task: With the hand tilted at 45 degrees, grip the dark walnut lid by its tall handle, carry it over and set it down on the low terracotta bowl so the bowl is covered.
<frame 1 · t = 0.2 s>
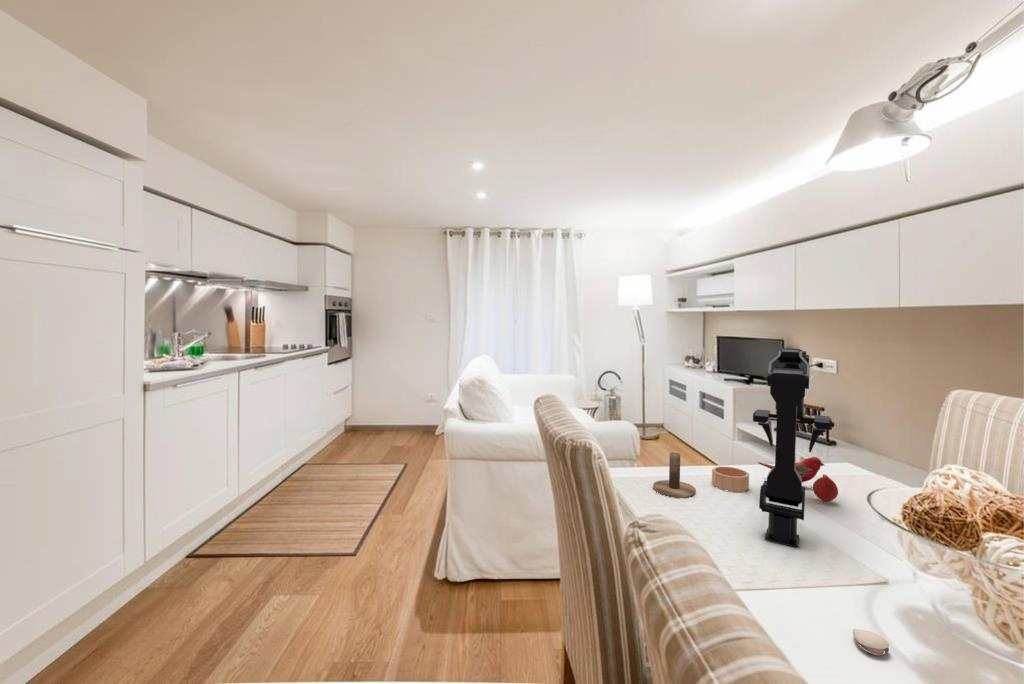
hand: (790, 449, 128), 15 cm above the table, tool pointing down, fingers open, 9 cm apart
decorative bird figurine: (789, 486, 139), on the table
beige oval flat piece: (867, 648, 70), on the table
onion: (824, 503, 127), on the table
lid: (674, 491, 135), on the table
bowl: (730, 486, 139), on the table
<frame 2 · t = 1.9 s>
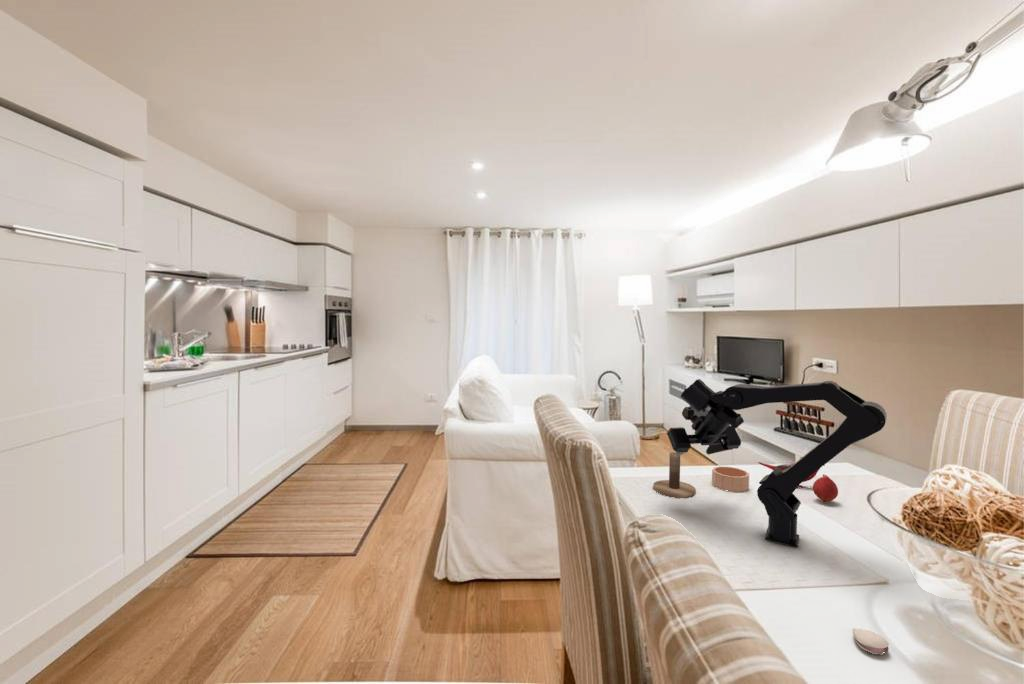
hand: (692, 453, 127), 13 cm above the table, tool tilted 45°, fingers open, 9 cm apart
nothing on the table moved.
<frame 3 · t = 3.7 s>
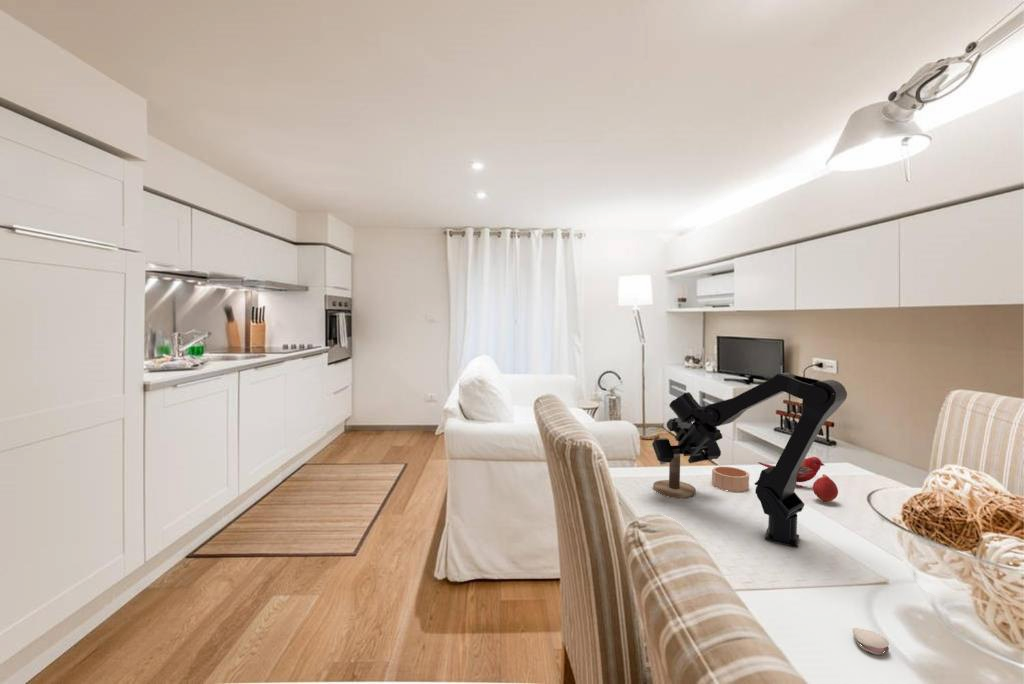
hand: (675, 462, 134), 9 cm above the table, tool tilted 45°, fingers open, 9 cm apart
nothing on the table moved.
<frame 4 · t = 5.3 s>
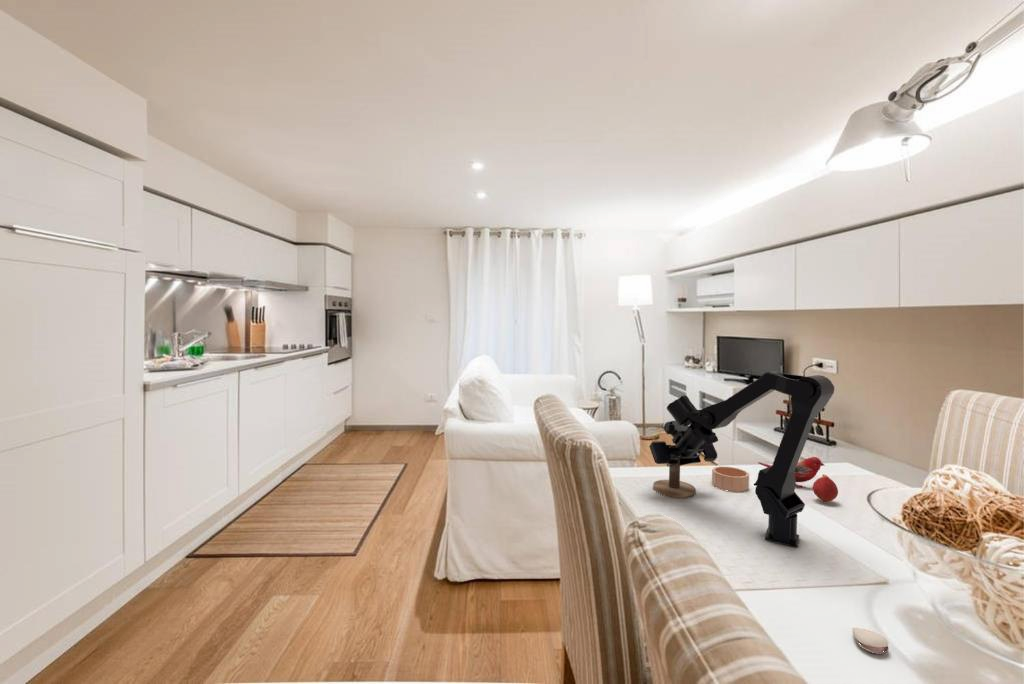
hand: (672, 464, 136), 7 cm above the table, tool tilted 45°, fingers closed on lid, 3 cm apart
lid: (674, 490, 135), on the table, touching gripper
everything else where it was.
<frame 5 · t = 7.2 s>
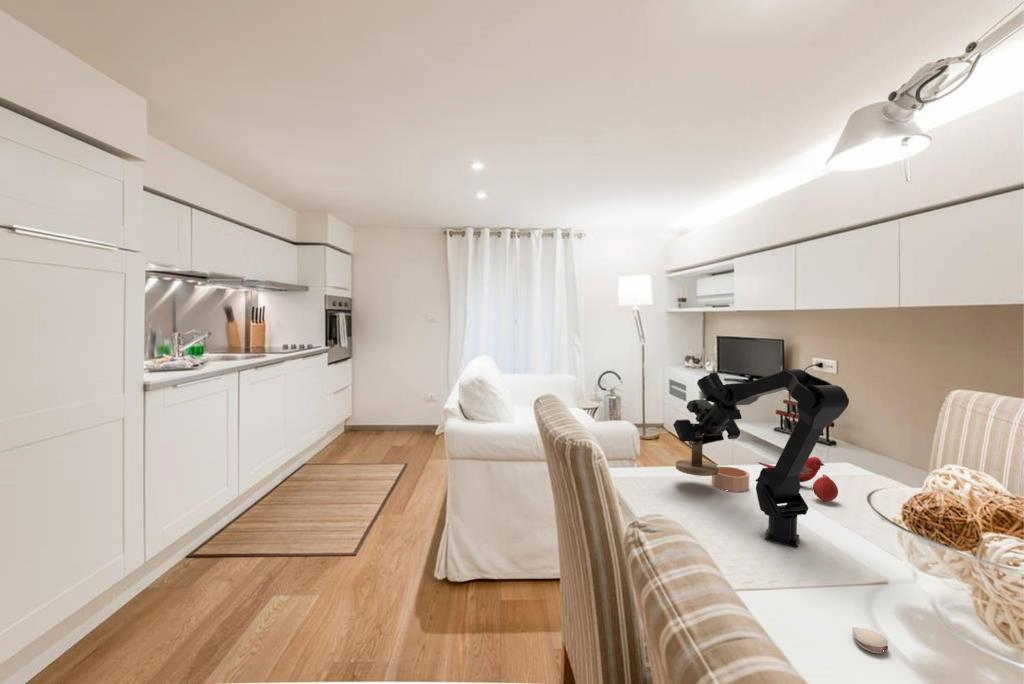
hand: (694, 444, 137), 13 cm above the table, tool tilted 45°, fingers closed on lid, 3 cm apart
lid: (696, 469, 136), point 6 cm above the table, touching gripper
everything else where it was.
when the fingers open (13 cm above the table, at t = 9.0 s): lid stays where it is, resting on bowl.
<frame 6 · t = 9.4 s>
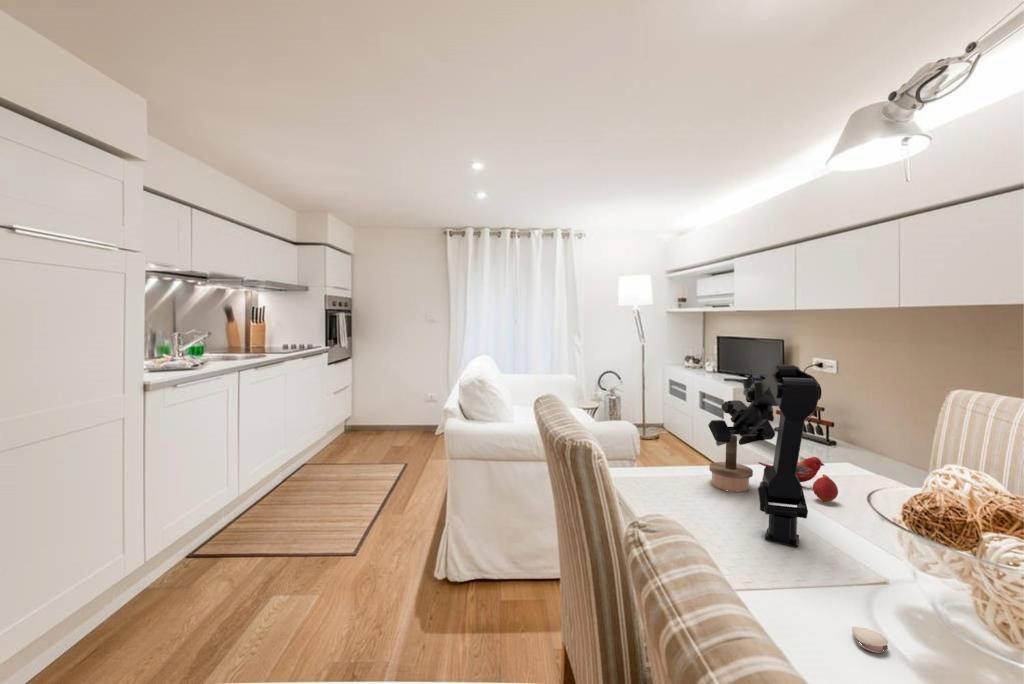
hand: (728, 444, 140), 13 cm above the table, tool tilted 45°, fingers open, 7 cm apart
lid: (730, 471, 139), point 4 cm above the table, touching bowl
everything else where it was.
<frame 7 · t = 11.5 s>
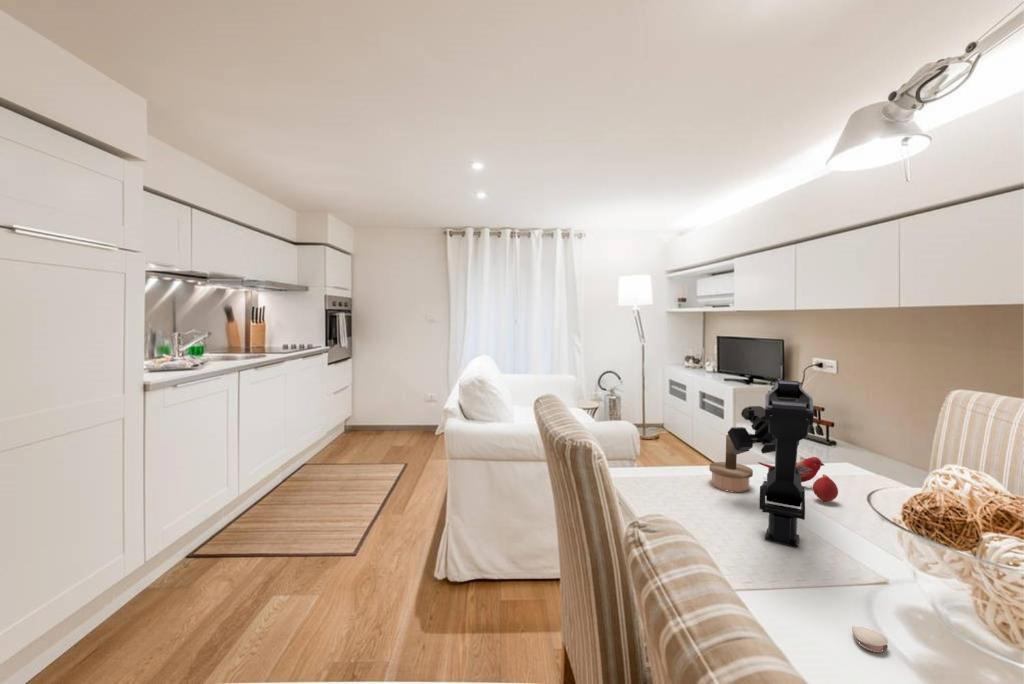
hand: (748, 452, 131), 13 cm above the table, tool tilted 45°, fingers open, 9 cm apart
nothing on the table moved.
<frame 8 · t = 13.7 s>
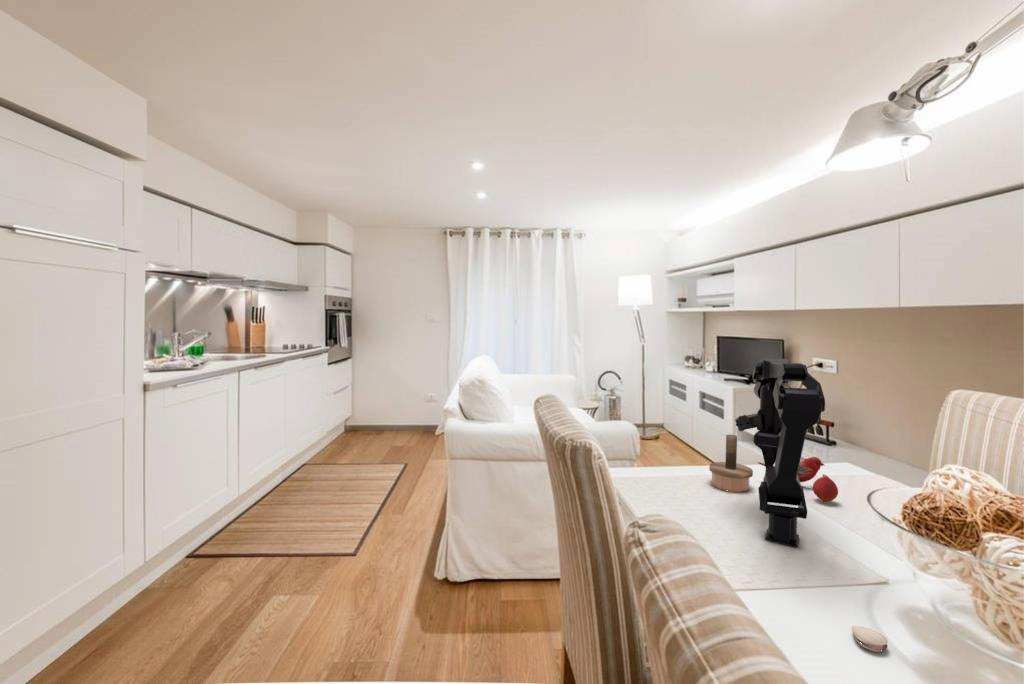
hand: (770, 465, 118), 13 cm above the table, tool pointing down, fingers open, 9 cm apart
nothing on the table moved.
at the end: lid 0.1 cm off-centre on the bowl, point 4.5 cm above the bowl's base; lid tilted 0°; the gripper is holding nothing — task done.
